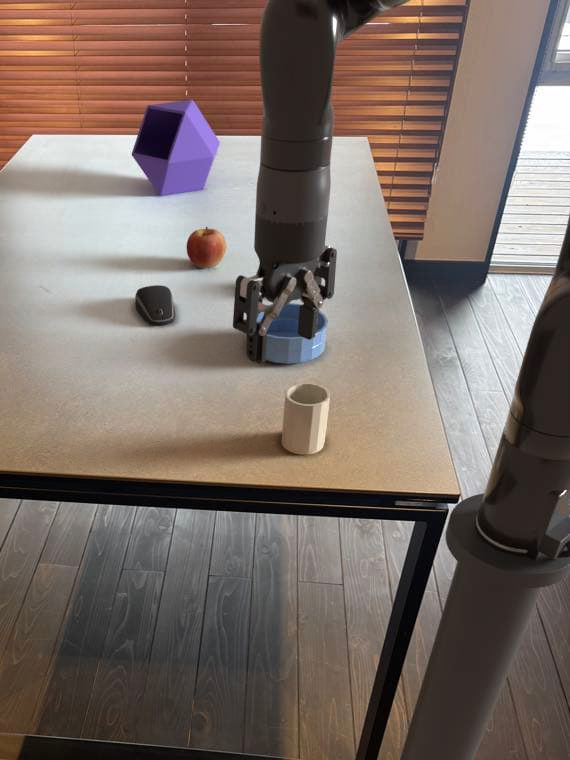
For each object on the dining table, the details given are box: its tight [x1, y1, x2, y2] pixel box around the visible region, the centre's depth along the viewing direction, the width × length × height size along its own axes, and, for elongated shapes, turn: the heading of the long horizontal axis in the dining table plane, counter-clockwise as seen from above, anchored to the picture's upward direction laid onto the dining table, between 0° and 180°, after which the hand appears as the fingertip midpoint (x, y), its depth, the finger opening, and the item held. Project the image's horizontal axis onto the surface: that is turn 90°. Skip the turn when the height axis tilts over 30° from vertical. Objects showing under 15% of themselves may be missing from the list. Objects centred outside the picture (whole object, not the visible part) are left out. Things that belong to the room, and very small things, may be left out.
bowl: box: [257, 302, 329, 364], centre depth 133 cm, size 13×13×5 cm
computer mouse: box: [134, 284, 176, 327], centre depth 145 cm, size 7×12×4 cm, turn 12°
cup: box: [281, 382, 331, 456], centre depth 110 cm, size 6×6×8 cm
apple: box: [186, 226, 227, 269], centre depth 159 cm, size 8×8×8 cm
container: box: [131, 99, 221, 197], centre depth 191 cm, size 22×20×20 cm
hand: (282, 348), depth 93 cm, fingers open, 8 cm apart
